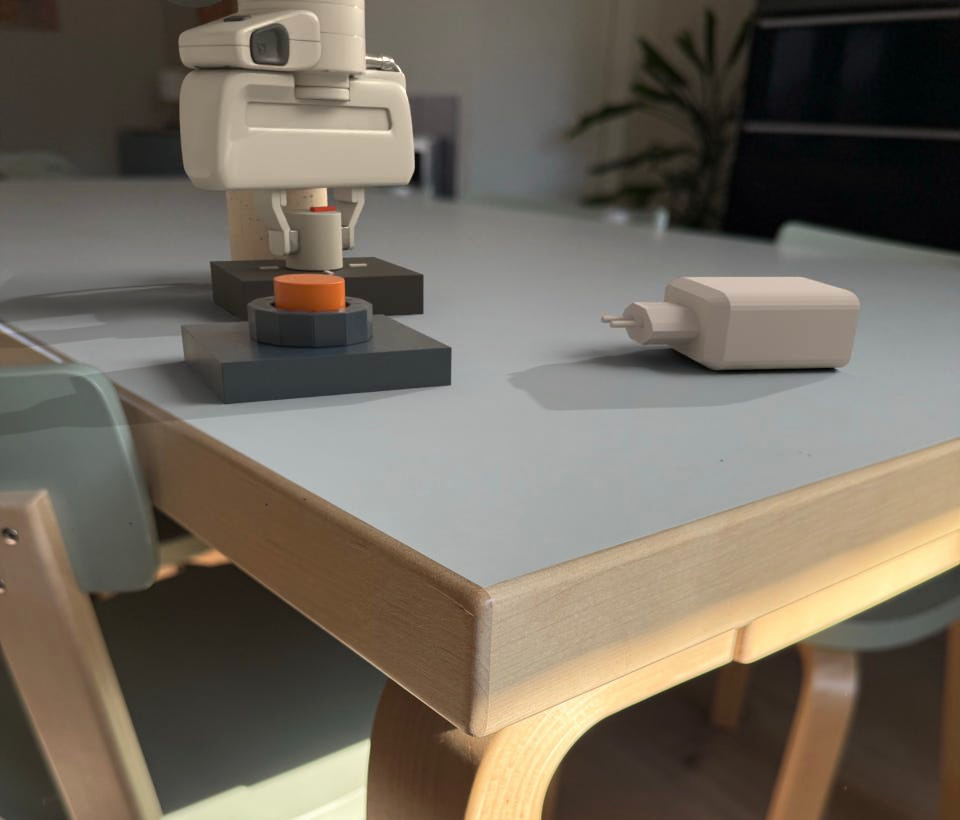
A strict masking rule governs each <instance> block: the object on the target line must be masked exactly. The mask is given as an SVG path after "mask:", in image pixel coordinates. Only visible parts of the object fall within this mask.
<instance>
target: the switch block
mask: <svg viewBox="0 0 960 820" xmlns="http://www.w3.org/2000/svg"><path fill="white" fill-rule="evenodd" d="M247 309H248V321H246V322H243V321H230V322H229V321H227V322H210V323H190V324H181V325H180V332H181V342H182V351H183V361H184V362H185V363H186V364H187V366H188V367H189V368H191V370H193V372H194V373H195V375H197V376H198V378H200V379H201V381H202V382H203V383H204V384H205V385H206V386H207V387H208V388H209V389H210V390H211V391H212V392H213V393H214V394H215V396H216V397H217V398H219V400H220V401H221V402H222V403H223V404H224V405H236V404H245V403H258V402H259V403H260V402H271V401H279V400H280V401H284V400H294V399H307V398H319V397H329V396H341V395H352V394H354V395H355V394H365V393H378V392H388V391H390V392H391V391H400V390H401V391H402V390H412V389H424V388H435V387H447V386H449V387H450V386H452V358H453V357H452V353H453V351H452V349H453V347H452V346H450V345H447V344H445V343H443V342H441V341H439V340H437V339H436V338H433V337H431V336H429V335H427V334H425V333H422V332H420V331H418V330H416V329H414V328H412V327H410V326H408V325H406V324H403V323H402V322H399V321H397V320H395V319H394V318H391V317H390V316H385V315H383V314H381V315H372V304H371V303H369V302H367V301H365V300H363V299H360V298H353V297H347V296H345V308H340V309H334V310H318V311H304V310H288V309H281V308H275V296H270V297H264V298H258V299H255V300H254V301H252V302H250V303H248V304H247Z"/></svg>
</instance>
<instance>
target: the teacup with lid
mask: <svg viewBox="0 0 960 820" xmlns="http://www.w3.org/2000/svg"><path fill="white" fill-rule="evenodd" d="M225 197H226V198H225V199H226V209H227V221H228V223H227V224H228V233H229V234H228V235H229V246H230V247H229V248H230V257H231V261H241V260H277V259H286V257H285V256H278V255H273V254H272V253H271V252H270V248H269V233H268V229H267V228H266V226H265V225H264V223H263V221H262V219H261V217H260V216H259V214H258V212H257V210H256V208H255V206H254V202H253V190H240V191H225ZM286 202H287V204H286V206H280V207H281V209H282V212H283V211H285V210H295V209H310V207H323V206H328V188H304V189H286Z"/></svg>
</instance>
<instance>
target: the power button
mask: <svg viewBox="0 0 960 820" xmlns="http://www.w3.org/2000/svg"><path fill="white" fill-rule="evenodd" d="M273 281H274V296H275V308H281V309H288V310H304V311H318V310H334V309H340V308H345V280H344V278H342V277H338V276H333V275H324V274H290V275H282V276H278V277H275V278H274V280H273Z"/></svg>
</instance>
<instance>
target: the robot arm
mask: <svg viewBox="0 0 960 820" xmlns="http://www.w3.org/2000/svg"><path fill="white" fill-rule="evenodd" d="M166 1H167V2H169V3H171V4H174V5H177V6H180V7H184V8H185V7H186V8H205V7H209V6H213V5H216V4H218V3H220V2H223V0H166ZM365 11H366V5H365V0H237V12H236V13H232V14H229V15H227V16H224V17H221V18H218V19H216V20H213V21H210V22H207V23H204V24H201V25H198V26H195V27H192V28H189V29H186V30H184V31H183V32H181V33H180V34H179V37H178V52H179V58H180V61H181V62H182V64H183V65H184V66H185V67H186V68H189V69H192V70H191V71H190V72H188V73H187V74H186V76H185V77H184V79H183V81H182V83H181V86H180V91H179V133H180V147H181V156H182V162H183V163H182V164H183V169H184V171H185V174H186V175H187V177H188V178H189V180H190V181H191V183H192V184H193V185H194V187H195V188H197V189H199V190H206V191H217V192H226V191H240V190H253V202H254V206H255V208H256V210H257V212H258V214H259V216H260V217H261V219H262V221H263V223H264V225H265V226H266V228H267V229H268V233H269V248H270V252H271V253H272V254H273V255H278V256H289V255H297V254H298V253H299V245H298V241H299V231H298V230H291V229H290V228H289V225H288V223H287V221H286V218H285V216H284V214H283V212H282V209H281V207H280V206H286V204H287V202H286V189H304V188H327V189H332V192H333V195H332V196H333V201H334V202H338V204H337V207H336V211H339V212H341V231H342V251H352V250H353V249H354V248H355V226H356V224H357V222H358V220H359V218H360V215H361V212H362V210H363V207H364V205H365V203H366V202H365V187H368V188H369V187H394V186H395V187H397V186H407V185H408V184H409V183H410V181H411V180H412V177H413V175H414V173H415V168H416V167H415V166H416V165H415V164H416V163H415V161H416V160H415V143H414V132H413V121H412V114H411V113H412V112H411V106H410V102H409V97H408V94H407V82H406V81H407V80H406V76H405V74H404V73H403V72H402V70H401V68H400V67H399V65H398V64H397V62H395V60H394V57H392V56H390V55H388V54H385V53H377V54H373V53H369V52H366V51H367V50H366V14H365V13H366V12H365ZM392 70H394V71H392Z"/></svg>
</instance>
